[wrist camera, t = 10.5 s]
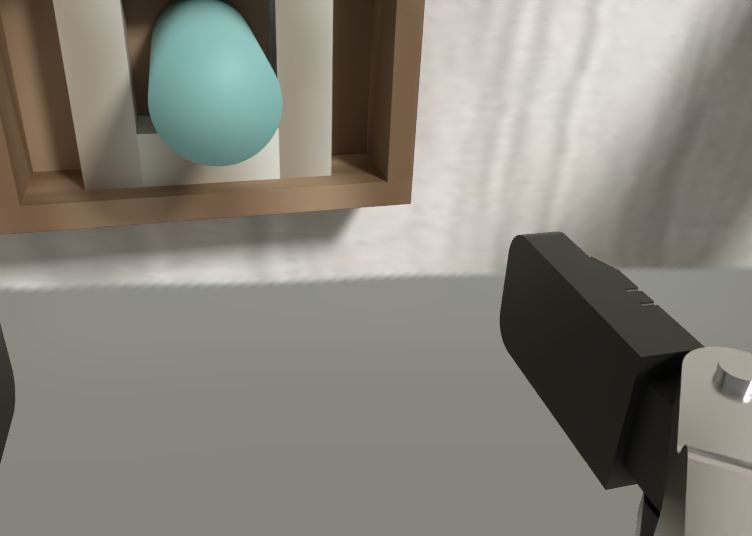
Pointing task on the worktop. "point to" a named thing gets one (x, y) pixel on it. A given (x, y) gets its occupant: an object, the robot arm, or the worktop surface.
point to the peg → (211, 84)
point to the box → (164, 166)
